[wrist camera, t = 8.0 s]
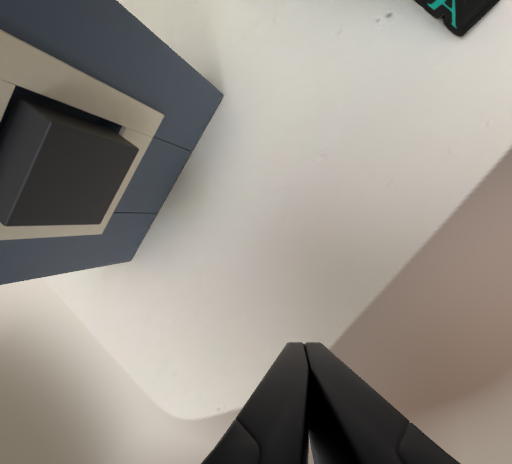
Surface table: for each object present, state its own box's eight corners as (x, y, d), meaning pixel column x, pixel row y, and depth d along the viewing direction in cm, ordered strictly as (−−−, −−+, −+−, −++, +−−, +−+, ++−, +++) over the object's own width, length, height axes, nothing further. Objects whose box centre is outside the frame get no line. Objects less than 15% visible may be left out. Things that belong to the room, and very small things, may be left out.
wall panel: (227, 97, 23) (-3, -107, 8) (133, 263, 26) (-158, 321, 11) (196, 78, 23) (-66, -141, 9) (108, 242, 26) (-198, 271, 12)
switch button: (140, 149, 16) (52, 121, 12) (100, 225, 17) (4, 227, 12) (111, 128, 17) (16, 94, 12) (74, 203, 17) (-29, 198, 13)
